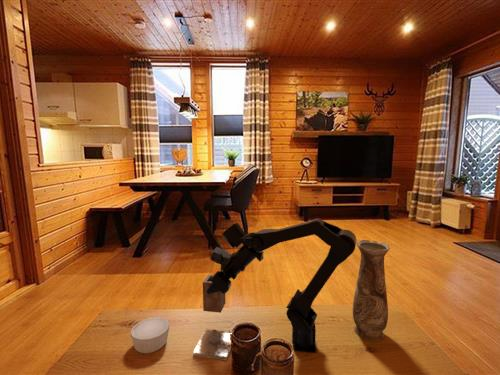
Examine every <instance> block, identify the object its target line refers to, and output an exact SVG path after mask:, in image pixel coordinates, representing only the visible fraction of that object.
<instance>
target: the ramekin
mask: <svg viewBox="0 0 500 375" xmlns="http://www.w3.org/2000/svg"><path fill="white" fill-rule="evenodd" d="M130 330H131V331H130V337H131V339H132V344H133V347H134V350H135V351H137V352H138V353H140V354H150V353H151V354H152V353H154V352H157V351H158V350H160V349H161V348H163V347H164V346H165V345H166V343H167V341H168V336H169V330H170V323H169V321H168V320H167V319H166V318H164V317H159V316H158V317H156V316H155V317H150V318H146V319H143V320H141V321H139V322H138V323H136V324H134V326H133V327H131V329H130Z"/></svg>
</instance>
